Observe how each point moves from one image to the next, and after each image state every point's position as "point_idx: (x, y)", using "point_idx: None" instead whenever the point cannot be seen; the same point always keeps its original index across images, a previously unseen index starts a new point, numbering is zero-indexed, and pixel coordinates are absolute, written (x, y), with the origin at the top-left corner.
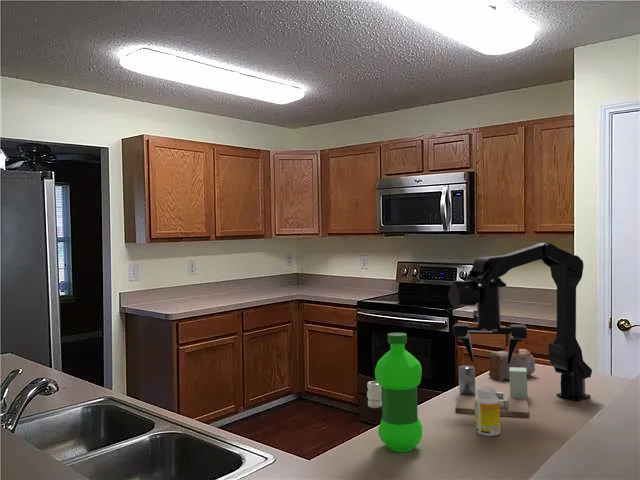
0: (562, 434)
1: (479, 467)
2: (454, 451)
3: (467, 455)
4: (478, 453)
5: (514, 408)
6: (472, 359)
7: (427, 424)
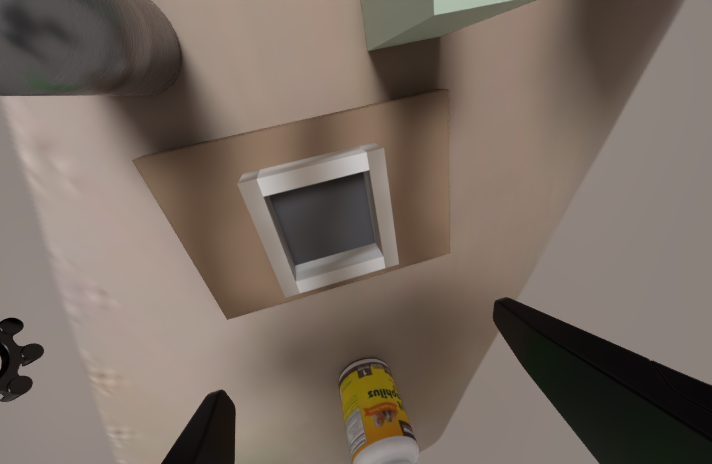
0: None
1: None
2: (331, 452)
3: None
4: None
5: (409, 236)
6: (231, 446)
7: None
